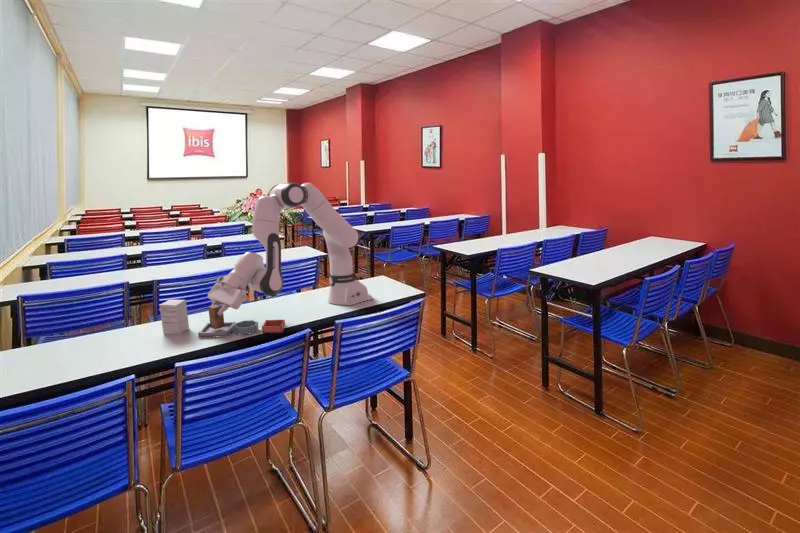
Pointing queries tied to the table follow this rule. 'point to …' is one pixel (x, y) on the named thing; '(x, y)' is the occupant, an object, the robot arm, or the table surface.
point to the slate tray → (217, 330)
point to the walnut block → (216, 317)
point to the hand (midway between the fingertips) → (214, 313)
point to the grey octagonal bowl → (246, 327)
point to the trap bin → (273, 326)
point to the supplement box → (174, 316)
